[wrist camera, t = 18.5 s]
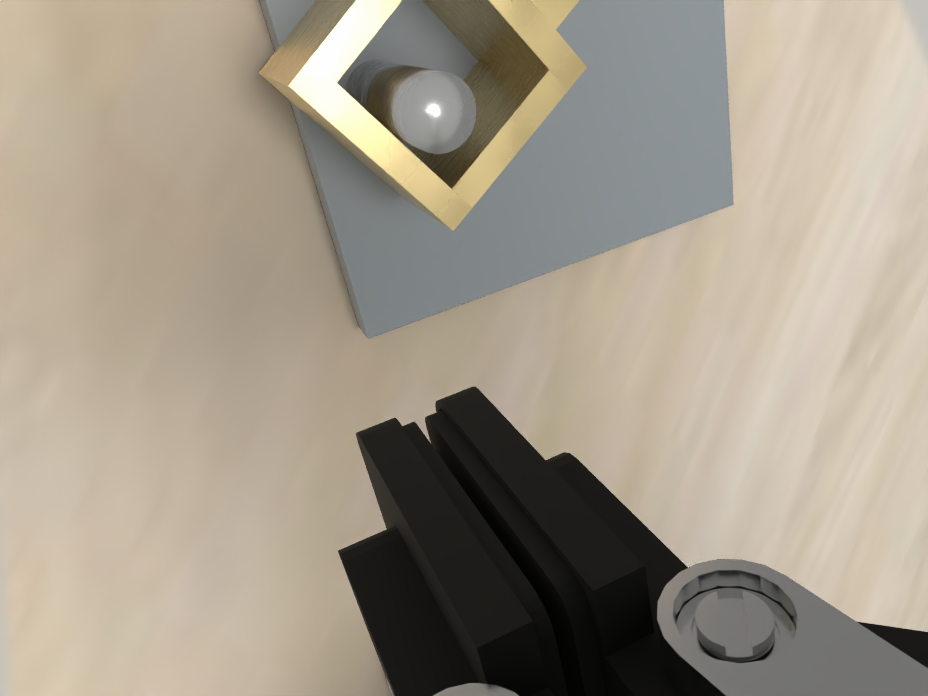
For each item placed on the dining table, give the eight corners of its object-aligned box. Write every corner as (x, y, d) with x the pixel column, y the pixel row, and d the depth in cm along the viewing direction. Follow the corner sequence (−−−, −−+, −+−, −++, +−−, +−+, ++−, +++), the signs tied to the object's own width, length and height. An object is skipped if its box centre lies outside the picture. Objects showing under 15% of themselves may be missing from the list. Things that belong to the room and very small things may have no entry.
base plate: (713, 198, 39) (733, 204, 38) (359, 326, 34) (368, 338, 33) (682, -310, 30) (707, -325, 28) (188, -229, 25) (192, -243, 24)
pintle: (401, 112, 32) (483, 141, 24) (345, 129, 31) (412, 163, 24) (386, 51, 30) (467, 62, 23) (328, 67, 30) (392, 83, 23)
